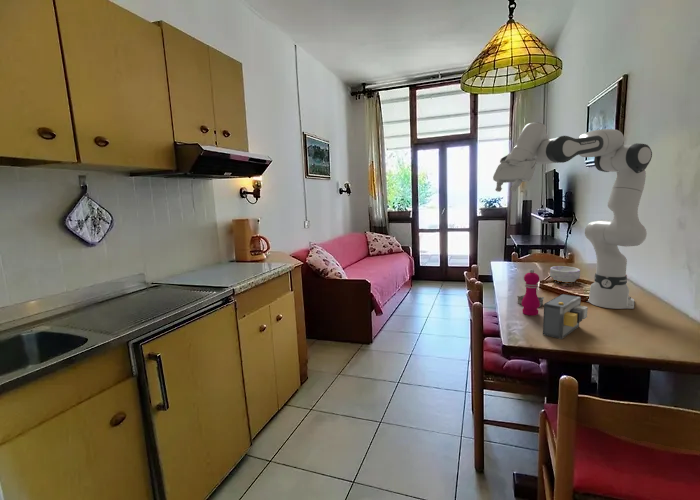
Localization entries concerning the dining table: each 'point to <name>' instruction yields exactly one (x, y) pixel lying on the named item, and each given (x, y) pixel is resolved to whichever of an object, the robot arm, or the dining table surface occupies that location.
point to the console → (559, 315)
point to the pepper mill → (531, 294)
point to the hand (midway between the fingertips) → (504, 191)
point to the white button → (583, 310)
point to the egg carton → (524, 295)
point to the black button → (579, 314)
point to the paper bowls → (565, 273)
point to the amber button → (570, 319)
